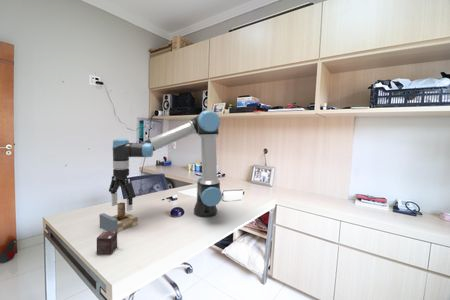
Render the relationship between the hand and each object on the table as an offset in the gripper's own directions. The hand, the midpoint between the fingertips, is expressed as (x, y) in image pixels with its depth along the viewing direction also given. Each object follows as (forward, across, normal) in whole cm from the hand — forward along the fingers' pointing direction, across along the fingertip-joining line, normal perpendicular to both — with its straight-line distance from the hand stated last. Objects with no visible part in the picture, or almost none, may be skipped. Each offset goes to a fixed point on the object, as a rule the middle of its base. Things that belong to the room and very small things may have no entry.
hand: (121, 207), depth 111 cm
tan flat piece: (+9, 0, 0) cm, 10 cm away
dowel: (+10, 0, 0) cm, 10 cm away
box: (+11, -16, +16) cm, 25 cm away
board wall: (+11, 0, -4) cm, 11 cm away
